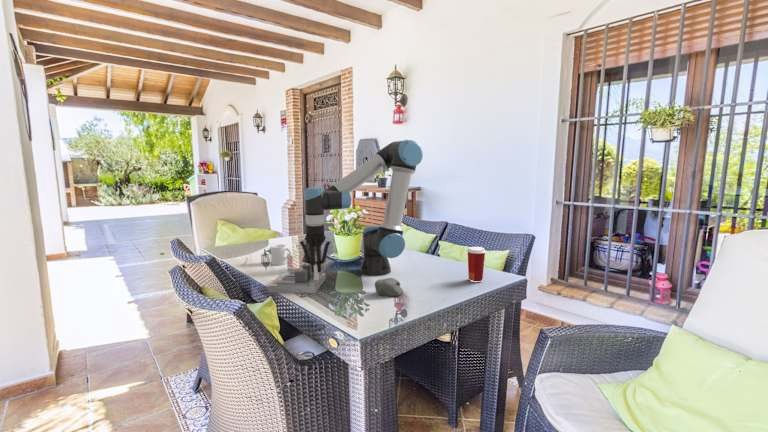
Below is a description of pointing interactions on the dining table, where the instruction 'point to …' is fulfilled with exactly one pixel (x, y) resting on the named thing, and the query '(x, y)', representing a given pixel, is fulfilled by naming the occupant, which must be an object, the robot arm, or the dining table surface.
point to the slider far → (308, 269)
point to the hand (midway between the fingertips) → (316, 279)
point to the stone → (388, 287)
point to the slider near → (301, 275)
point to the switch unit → (295, 284)
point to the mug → (279, 254)
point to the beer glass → (476, 263)
